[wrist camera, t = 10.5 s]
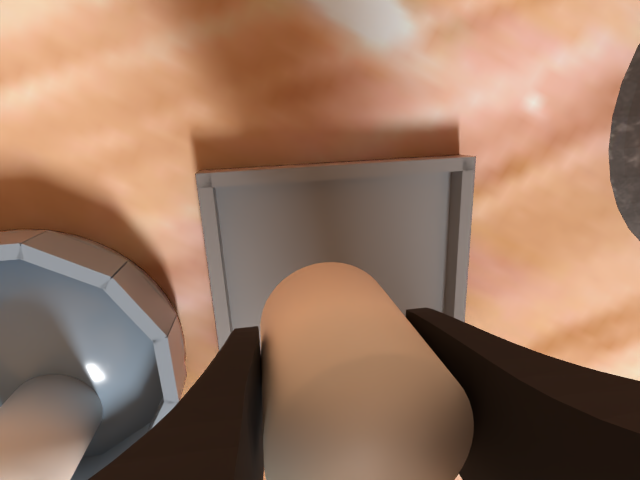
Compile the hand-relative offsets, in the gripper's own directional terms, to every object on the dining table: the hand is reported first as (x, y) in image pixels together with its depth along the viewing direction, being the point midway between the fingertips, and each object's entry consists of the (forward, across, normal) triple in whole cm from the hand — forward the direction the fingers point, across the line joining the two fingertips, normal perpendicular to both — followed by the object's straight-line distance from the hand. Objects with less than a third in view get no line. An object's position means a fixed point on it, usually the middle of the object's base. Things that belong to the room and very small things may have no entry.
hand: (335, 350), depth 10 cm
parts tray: (+9, -2, +3) cm, 9 cm away
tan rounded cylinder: (+8, +12, +7) cm, 16 cm away
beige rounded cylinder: (+1, 0, 0) cm, 1 cm away
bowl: (+9, +12, +4) cm, 15 cm away
